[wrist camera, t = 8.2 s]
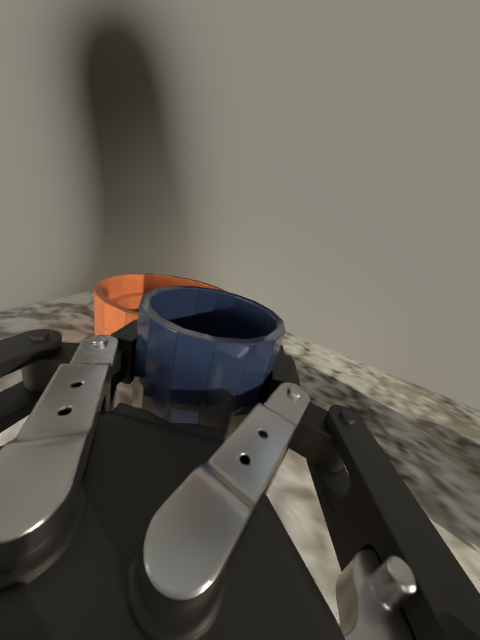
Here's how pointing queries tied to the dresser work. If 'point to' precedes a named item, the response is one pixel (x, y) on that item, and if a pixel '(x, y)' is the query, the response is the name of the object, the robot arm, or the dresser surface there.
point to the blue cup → (203, 355)
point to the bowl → (128, 297)
